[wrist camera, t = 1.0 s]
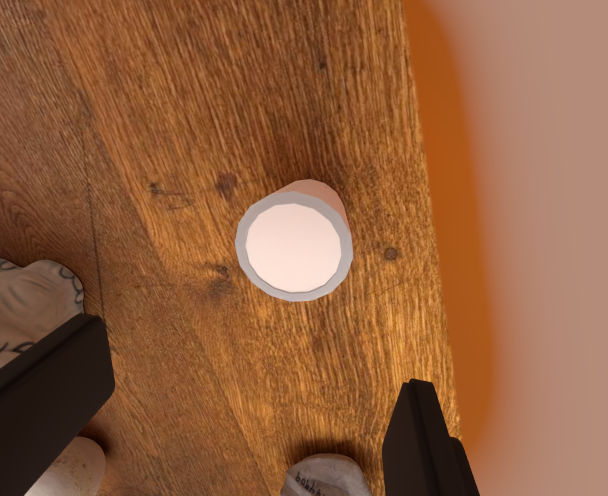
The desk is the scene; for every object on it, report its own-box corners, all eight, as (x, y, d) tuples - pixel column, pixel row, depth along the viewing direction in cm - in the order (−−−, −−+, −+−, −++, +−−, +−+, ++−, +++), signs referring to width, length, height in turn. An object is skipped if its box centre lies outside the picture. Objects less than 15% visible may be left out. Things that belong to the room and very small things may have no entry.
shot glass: (265, 167, 23) (231, 186, 17) (358, 174, 22) (360, 197, 16) (265, 251, 26) (236, 296, 19) (348, 260, 25) (346, 309, 19)
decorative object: (102, 473, 43) (35, 570, 34) (48, 436, 41) (-39, 527, 32) (134, 448, 39) (68, 548, 30) (75, 407, 38) (-12, 500, 29)
